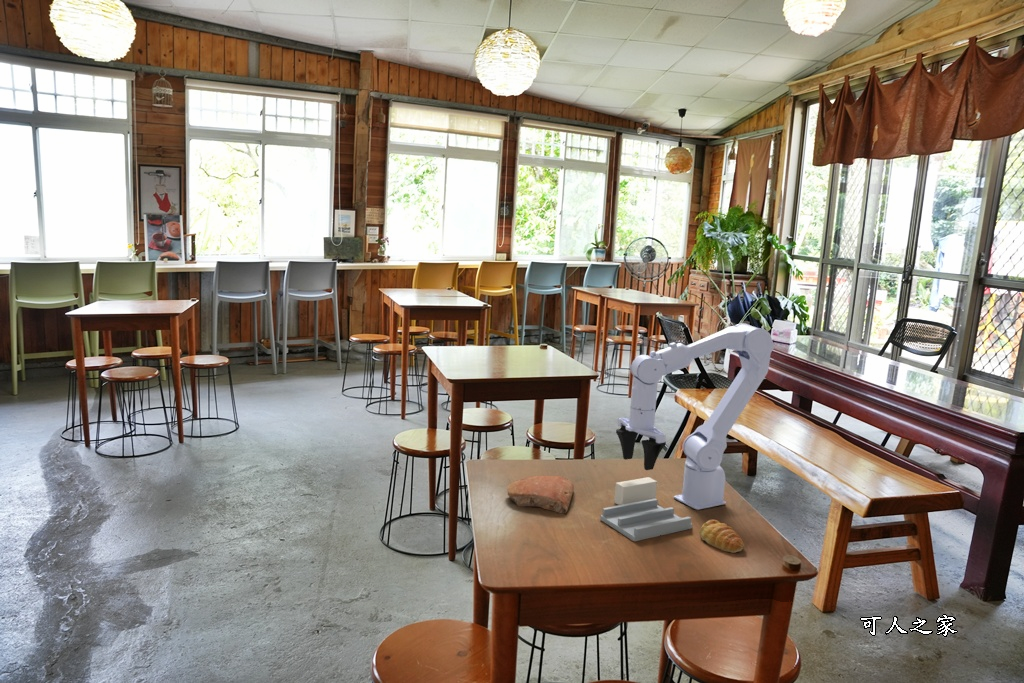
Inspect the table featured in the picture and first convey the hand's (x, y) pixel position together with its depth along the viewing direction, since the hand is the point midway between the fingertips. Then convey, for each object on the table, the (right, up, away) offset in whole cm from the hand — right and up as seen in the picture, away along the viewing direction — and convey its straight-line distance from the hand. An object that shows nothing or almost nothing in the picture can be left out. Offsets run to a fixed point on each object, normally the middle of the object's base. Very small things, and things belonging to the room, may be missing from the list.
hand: (638, 463), depth 161 cm
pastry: (+14, -14, -18) cm, 26 cm away
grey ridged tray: (0, -11, -11) cm, 16 cm away
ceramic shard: (-23, -9, +1) cm, 24 cm away
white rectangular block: (-1, -9, +2) cm, 9 cm away
